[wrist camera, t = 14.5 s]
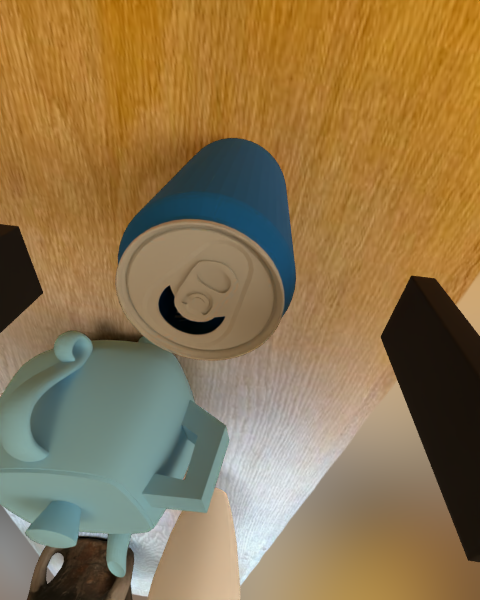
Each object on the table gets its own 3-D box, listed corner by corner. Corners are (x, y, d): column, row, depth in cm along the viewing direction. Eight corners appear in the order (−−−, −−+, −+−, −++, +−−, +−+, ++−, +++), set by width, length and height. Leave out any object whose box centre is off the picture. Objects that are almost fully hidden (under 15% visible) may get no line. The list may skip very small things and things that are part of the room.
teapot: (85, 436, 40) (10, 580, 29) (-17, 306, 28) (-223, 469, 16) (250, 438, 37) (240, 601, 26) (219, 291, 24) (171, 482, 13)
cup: (162, 463, 43) (86, 725, 26) (218, 444, 39) (174, 744, 21) (210, 492, 47) (173, 733, 30) (265, 479, 43) (260, 750, 26)
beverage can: (169, 204, 21) (78, 316, 11) (218, 110, 17) (147, 154, 7) (248, 254, 22) (230, 390, 13) (307, 178, 19) (342, 285, 9)
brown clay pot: (162, 571, 78) (142, 661, 66) (58, 554, 77) (19, 643, 65) (166, 538, 62) (141, 649, 50) (36, 516, 61) (-22, 624, 49)
